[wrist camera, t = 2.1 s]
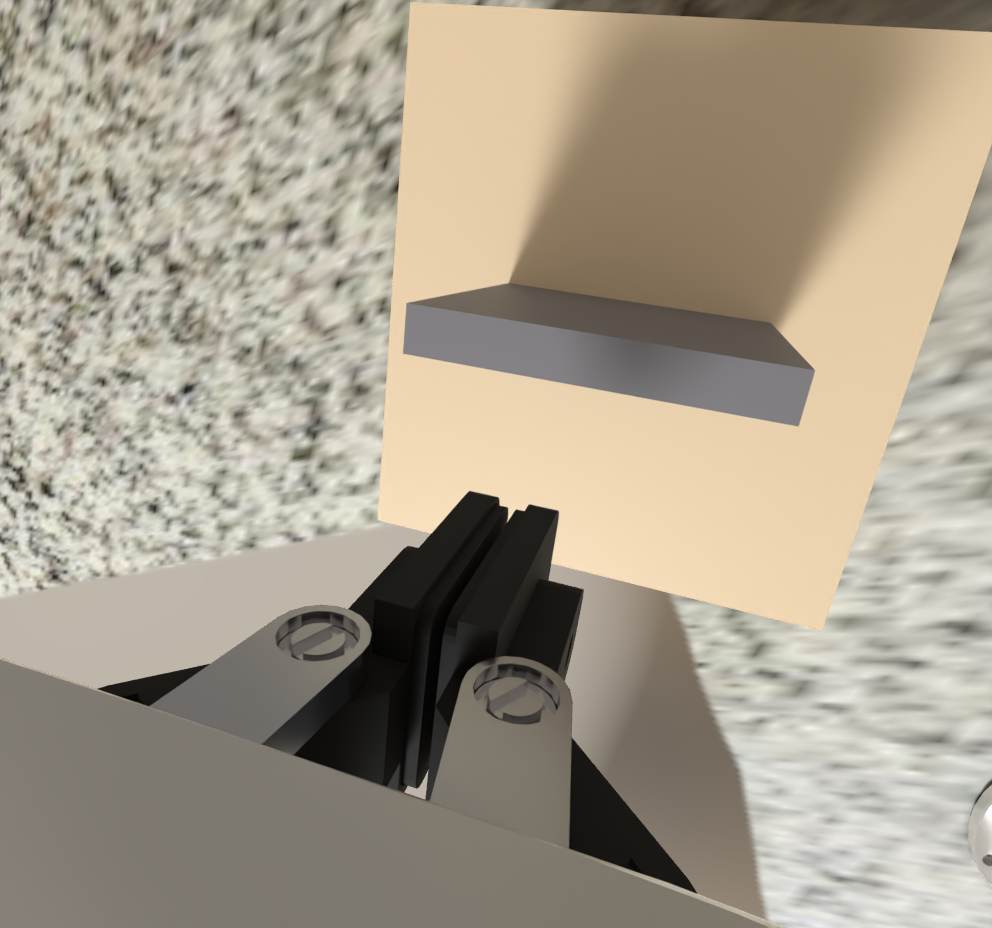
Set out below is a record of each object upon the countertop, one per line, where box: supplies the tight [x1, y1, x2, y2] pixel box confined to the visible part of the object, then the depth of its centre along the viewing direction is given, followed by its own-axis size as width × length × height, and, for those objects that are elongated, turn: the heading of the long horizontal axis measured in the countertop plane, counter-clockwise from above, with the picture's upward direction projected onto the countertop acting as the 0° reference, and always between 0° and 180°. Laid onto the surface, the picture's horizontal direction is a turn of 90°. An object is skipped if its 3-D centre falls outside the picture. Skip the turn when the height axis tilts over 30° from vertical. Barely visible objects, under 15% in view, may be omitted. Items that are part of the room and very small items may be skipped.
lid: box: [378, 2, 992, 631], centre depth 19 cm, size 19×18×10 cm
